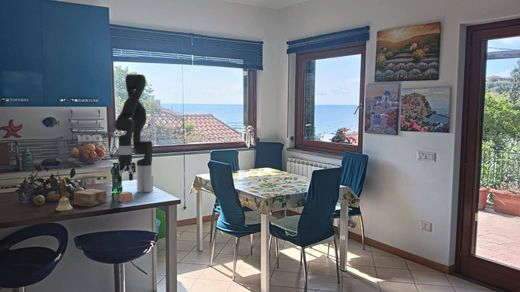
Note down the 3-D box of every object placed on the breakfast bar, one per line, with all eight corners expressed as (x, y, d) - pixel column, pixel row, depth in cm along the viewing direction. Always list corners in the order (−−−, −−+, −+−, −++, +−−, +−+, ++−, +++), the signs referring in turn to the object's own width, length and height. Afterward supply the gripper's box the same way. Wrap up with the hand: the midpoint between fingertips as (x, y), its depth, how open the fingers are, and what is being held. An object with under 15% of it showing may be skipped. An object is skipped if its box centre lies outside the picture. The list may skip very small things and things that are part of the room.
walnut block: (91, 200, 243) (90, 188, 242) (106, 202, 237) (106, 190, 237) (74, 204, 232) (73, 192, 231) (89, 207, 227) (89, 194, 226)
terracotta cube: (125, 199, 244) (125, 191, 244) (132, 200, 242) (132, 192, 242) (119, 201, 240) (119, 193, 239) (125, 202, 238) (125, 194, 237)
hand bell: (54, 211, 216) (53, 181, 214) (57, 207, 224) (56, 178, 222) (71, 210, 218) (70, 180, 216) (74, 206, 226) (73, 177, 224)
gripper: (129, 152, 246) (129, 179, 248) (110, 154, 234) (110, 182, 235) (138, 152, 243) (139, 180, 244) (120, 154, 230) (120, 183, 232)
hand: (125, 181), depth 240 cm, fingers open, 8 cm apart
